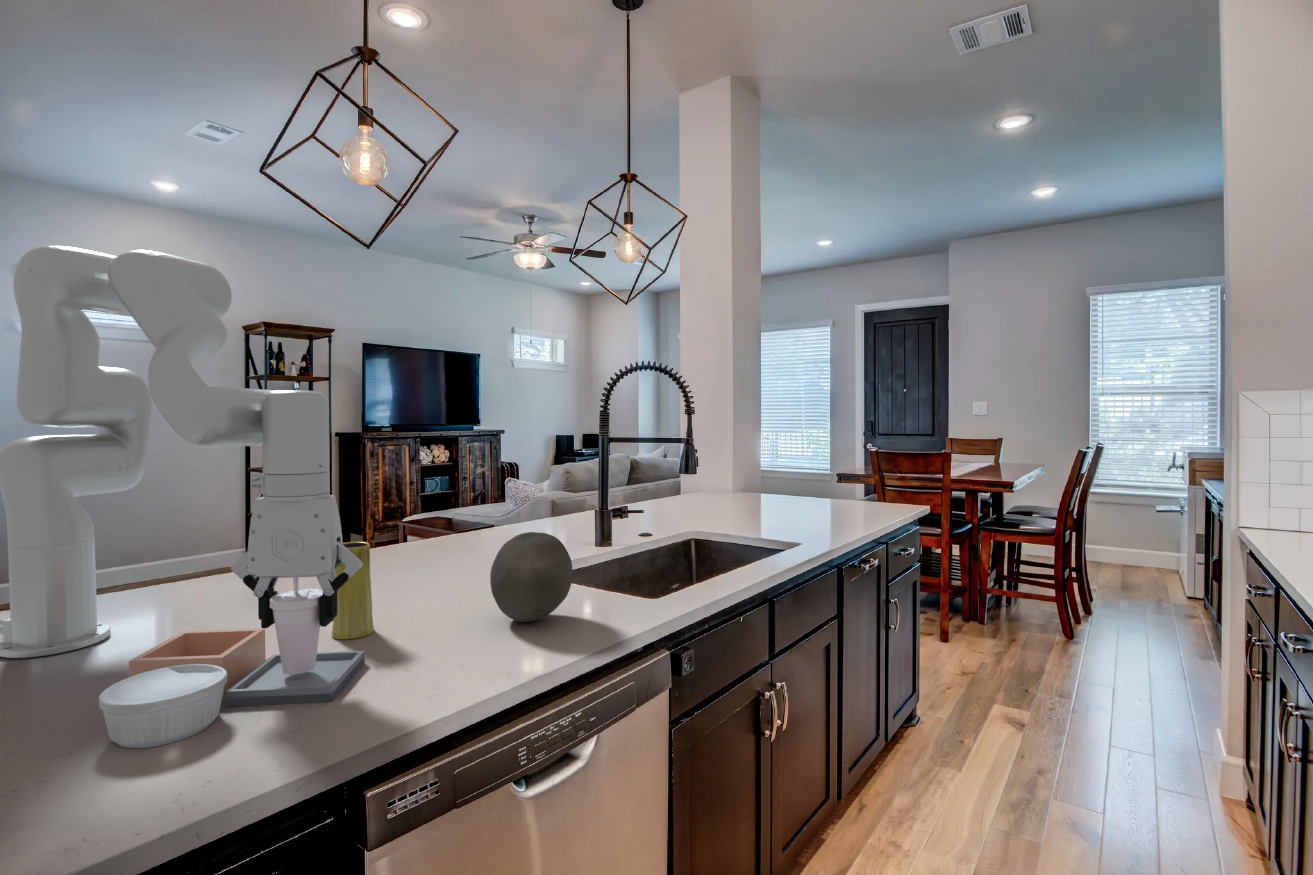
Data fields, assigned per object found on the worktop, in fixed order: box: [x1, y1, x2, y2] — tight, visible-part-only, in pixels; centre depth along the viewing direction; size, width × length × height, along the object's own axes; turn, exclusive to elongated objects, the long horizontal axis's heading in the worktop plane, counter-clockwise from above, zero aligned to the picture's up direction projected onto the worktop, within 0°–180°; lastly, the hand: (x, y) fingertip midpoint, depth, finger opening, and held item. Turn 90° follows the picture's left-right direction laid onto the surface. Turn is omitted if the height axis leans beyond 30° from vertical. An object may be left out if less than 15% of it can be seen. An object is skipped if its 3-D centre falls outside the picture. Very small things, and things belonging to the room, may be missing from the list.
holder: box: [128, 628, 267, 698], centre depth 83 cm, size 11×11×5 cm
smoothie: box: [269, 577, 323, 675], centre depth 83 cm, size 6×6×14 cm
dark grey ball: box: [489, 531, 573, 623], centre depth 108 cm, size 14×14×15 cm
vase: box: [331, 541, 375, 641], centre depth 102 cm, size 6×6×14 cm
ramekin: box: [98, 664, 227, 749], centre depth 71 cm, size 11×11×5 cm
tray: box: [225, 650, 366, 707], centre depth 83 cm, size 12×12×2 cm
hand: (298, 622), depth 83 cm, fingers closed on smoothie, 6 cm apart
